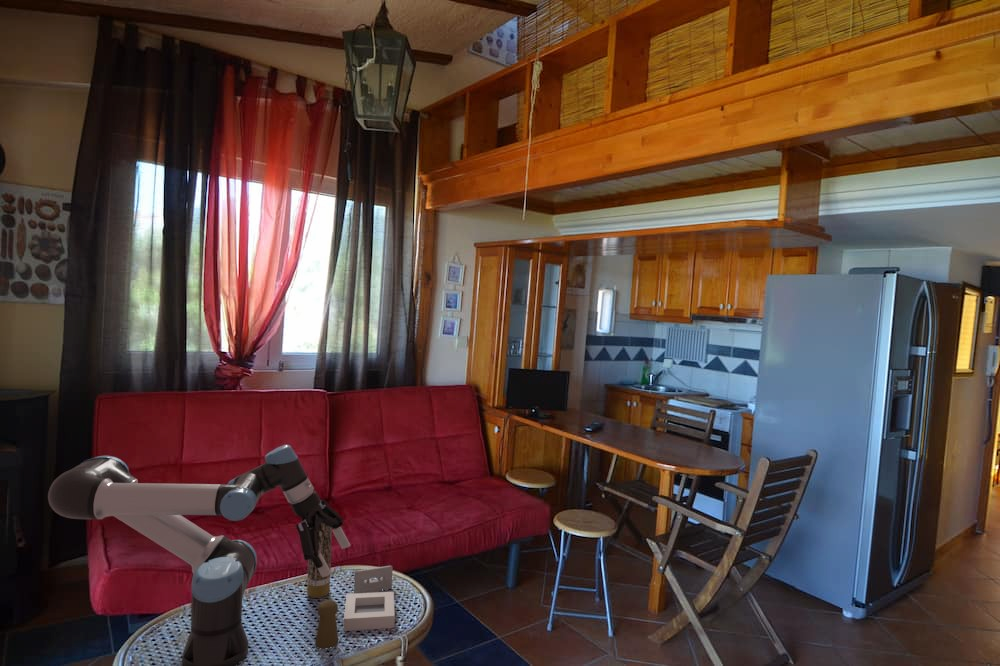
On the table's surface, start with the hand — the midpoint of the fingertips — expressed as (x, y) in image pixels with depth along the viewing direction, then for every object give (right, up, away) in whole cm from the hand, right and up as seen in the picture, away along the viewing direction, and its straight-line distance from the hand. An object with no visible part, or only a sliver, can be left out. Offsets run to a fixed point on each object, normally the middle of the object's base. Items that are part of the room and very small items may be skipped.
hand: (337, 560), depth 165 cm
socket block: (+8, -18, +4) cm, 20 cm away
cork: (0, -19, -10) cm, 21 cm away
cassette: (+6, -18, +19) cm, 26 cm away
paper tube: (-10, -17, +16) cm, 25 cm away
